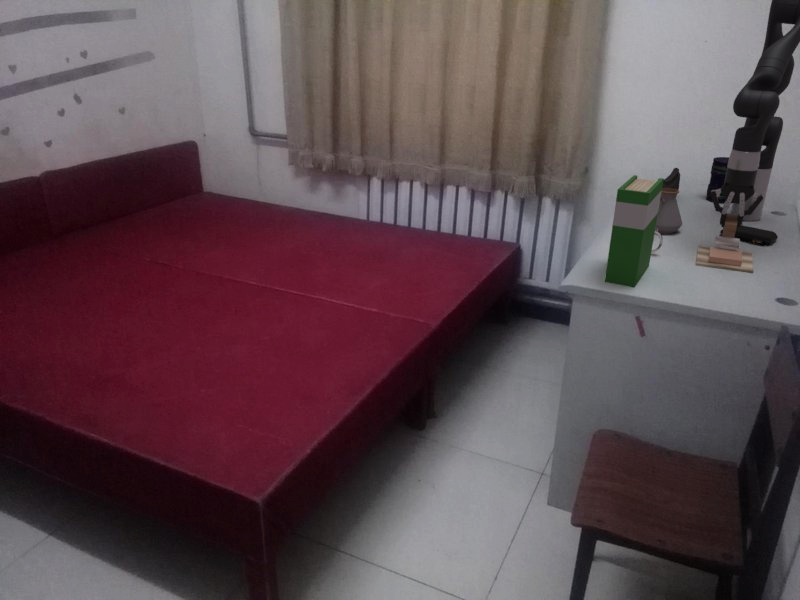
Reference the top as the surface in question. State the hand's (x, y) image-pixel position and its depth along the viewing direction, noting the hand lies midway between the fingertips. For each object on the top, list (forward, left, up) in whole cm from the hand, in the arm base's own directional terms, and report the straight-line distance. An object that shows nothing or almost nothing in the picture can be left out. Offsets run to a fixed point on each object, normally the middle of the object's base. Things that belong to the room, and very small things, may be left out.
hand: (729, 226), depth 186 cm
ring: (+12, -20, -8) cm, 25 cm away
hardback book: (+31, -23, -8) cm, 39 cm away
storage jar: (-62, -2, -8) cm, 62 cm away
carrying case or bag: (-16, +6, -8) cm, 19 cm away
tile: (+5, 0, -6) cm, 8 cm away
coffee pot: (-9, -19, -8) cm, 23 cm away
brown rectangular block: (+2, 0, -3) cm, 3 cm away
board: (+8, 0, -7) cm, 11 cm away
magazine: (-48, -20, -8) cm, 52 cm away
